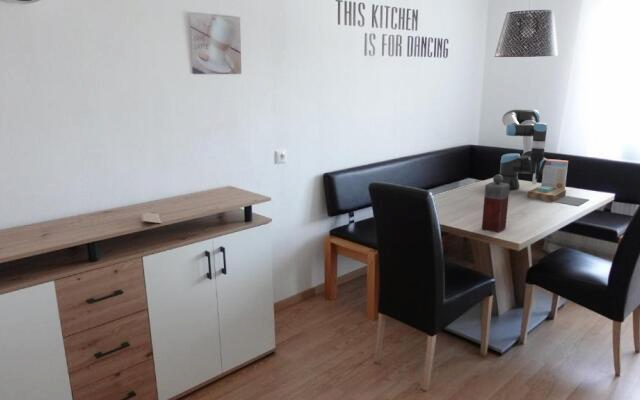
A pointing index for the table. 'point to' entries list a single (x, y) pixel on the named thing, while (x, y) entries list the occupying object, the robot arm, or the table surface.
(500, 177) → the red square decanter
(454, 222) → the table surface
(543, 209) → the table surface
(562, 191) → the deck
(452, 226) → the table surface
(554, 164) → the cracker box
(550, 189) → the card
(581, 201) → the mat
